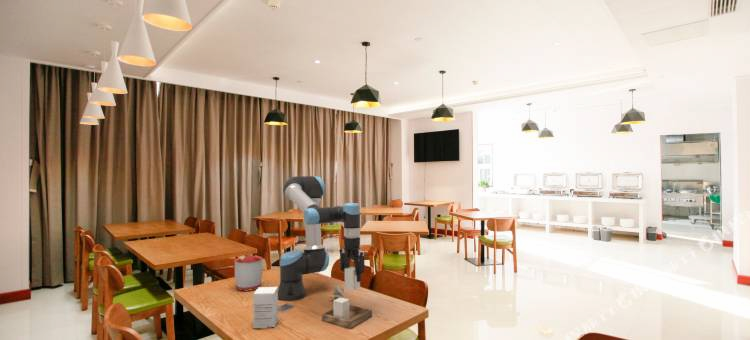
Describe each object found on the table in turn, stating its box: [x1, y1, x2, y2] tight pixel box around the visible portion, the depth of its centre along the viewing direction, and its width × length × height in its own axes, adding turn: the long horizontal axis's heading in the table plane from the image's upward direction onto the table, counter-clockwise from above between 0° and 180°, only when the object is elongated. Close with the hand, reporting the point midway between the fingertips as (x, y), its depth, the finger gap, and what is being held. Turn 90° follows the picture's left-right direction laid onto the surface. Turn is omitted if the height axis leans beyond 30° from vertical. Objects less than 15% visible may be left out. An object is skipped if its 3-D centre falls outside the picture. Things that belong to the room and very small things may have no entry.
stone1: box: [332, 297, 350, 320], centre depth 154 cm, size 5×5×9 cm
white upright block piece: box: [344, 266, 357, 291], centre depth 161 cm, size 5×5×9 cm
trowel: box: [278, 303, 295, 313], centre depth 166 cm, size 16×6×2 cm, turn 146°
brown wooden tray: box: [321, 303, 373, 330], centre depth 158 cm, size 16×16×3 cm
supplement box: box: [252, 286, 279, 329], centre depth 152 cm, size 9×9×15 cm
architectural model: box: [328, 285, 345, 301], centre depth 180 cm, size 3×7×7 cm, turn 68°
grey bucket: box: [233, 253, 263, 291], centre depth 203 cm, size 16×17×20 cm
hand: (352, 287), depth 161 cm, fingers closed on white upright block piece, 5 cm apart
